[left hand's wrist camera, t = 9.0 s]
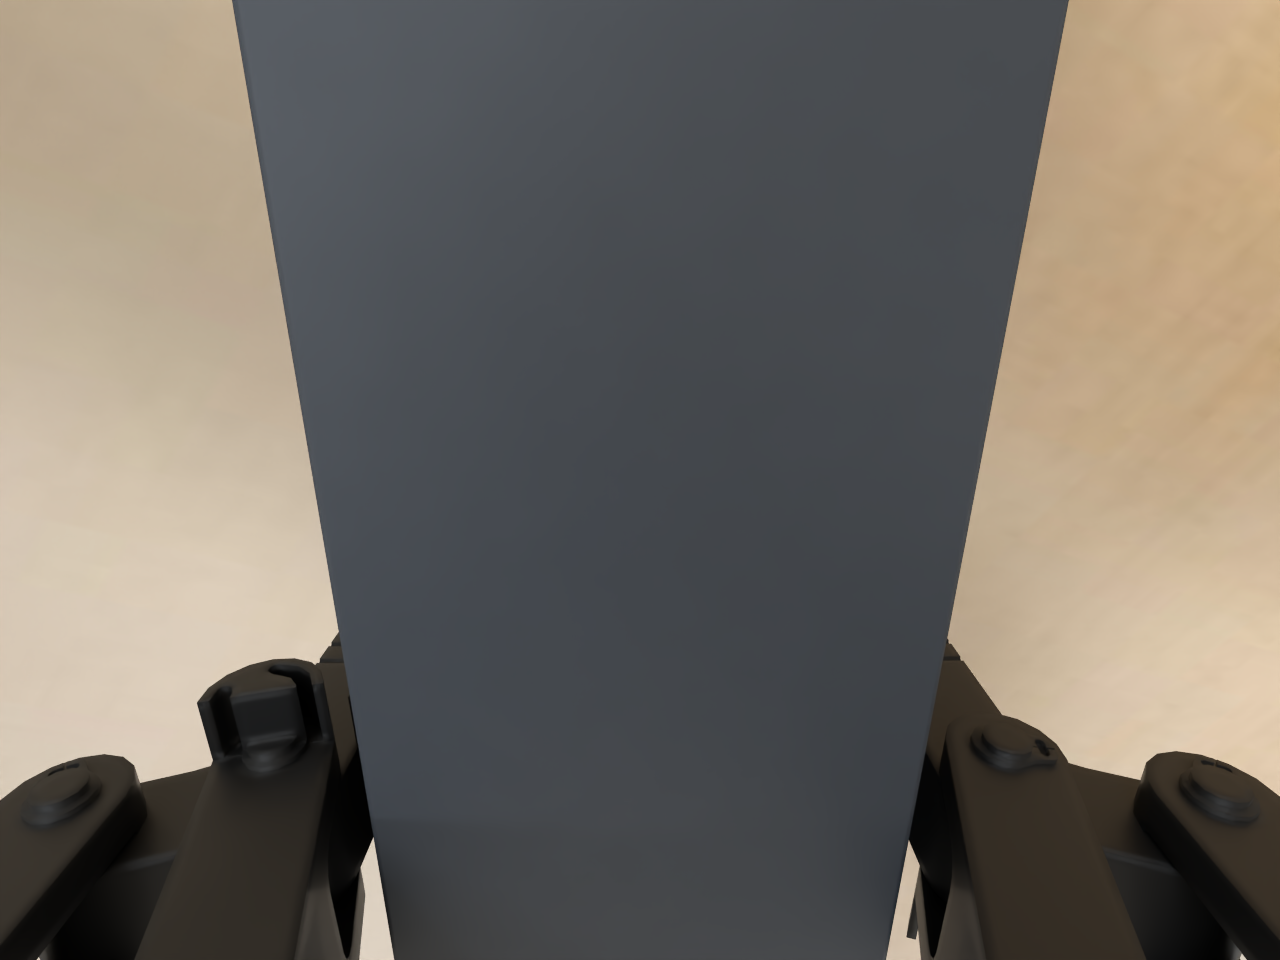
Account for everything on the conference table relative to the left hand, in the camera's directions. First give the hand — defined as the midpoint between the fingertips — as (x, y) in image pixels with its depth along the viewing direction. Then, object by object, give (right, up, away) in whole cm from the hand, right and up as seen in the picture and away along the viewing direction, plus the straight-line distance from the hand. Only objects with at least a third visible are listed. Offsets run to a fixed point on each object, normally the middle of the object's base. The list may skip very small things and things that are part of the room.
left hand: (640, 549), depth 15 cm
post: (0, +30, -11) cm, 31 cm away
